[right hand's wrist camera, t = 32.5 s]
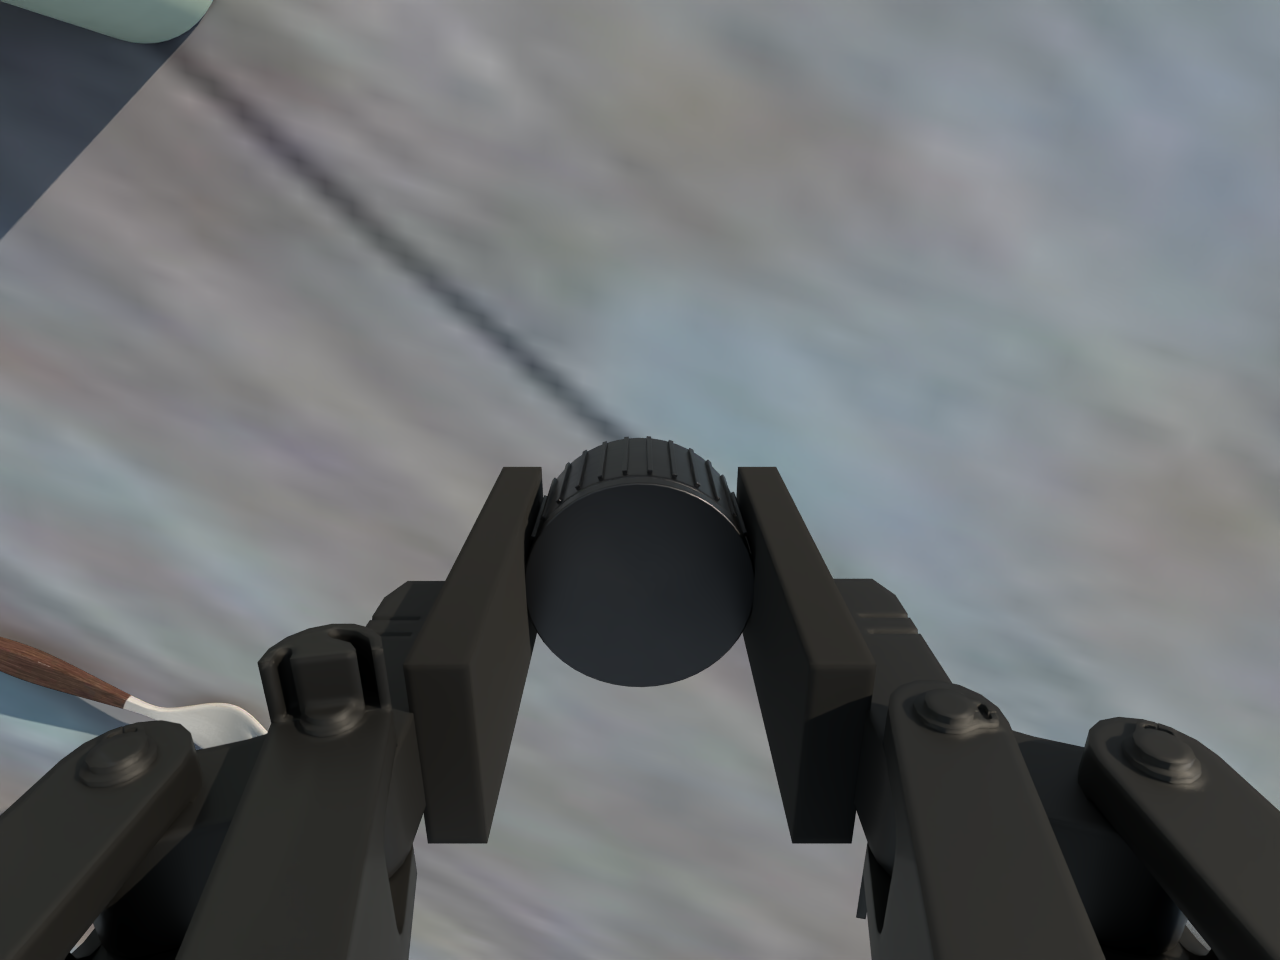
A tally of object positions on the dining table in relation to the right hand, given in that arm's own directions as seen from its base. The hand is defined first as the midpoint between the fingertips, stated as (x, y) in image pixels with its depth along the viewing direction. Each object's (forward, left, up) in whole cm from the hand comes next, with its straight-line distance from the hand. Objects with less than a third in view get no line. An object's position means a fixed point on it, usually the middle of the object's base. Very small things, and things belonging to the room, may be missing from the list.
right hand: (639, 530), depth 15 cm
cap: (0, 0, +2) cm, 2 cm away
